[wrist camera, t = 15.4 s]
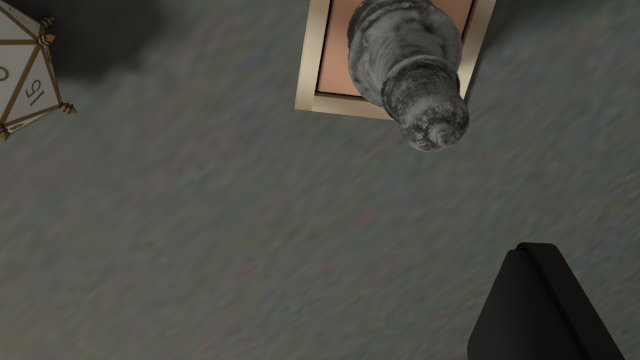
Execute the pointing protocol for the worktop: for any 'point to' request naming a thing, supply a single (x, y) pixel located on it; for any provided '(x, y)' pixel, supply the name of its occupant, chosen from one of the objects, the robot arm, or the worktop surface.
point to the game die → (26, 71)
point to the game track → (336, 51)
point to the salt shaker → (410, 68)
